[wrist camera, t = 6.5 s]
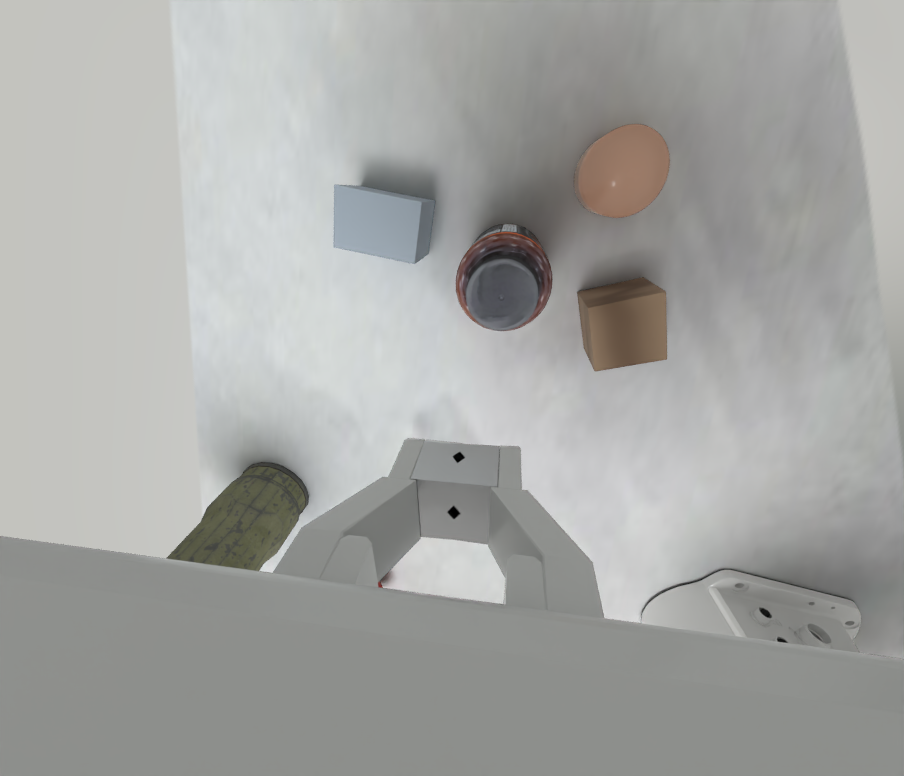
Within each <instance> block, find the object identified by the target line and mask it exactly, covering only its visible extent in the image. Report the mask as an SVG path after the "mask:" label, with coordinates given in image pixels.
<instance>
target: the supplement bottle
mask: <svg viewBox="0 0 904 776" xmlns="http://www.w3.org/2000/svg"><path fill="white" fill-rule="evenodd" d="M551 289H552V271H551V267H550V264H549V261H548V259H547V257H546V255H545V253H544V251H543V249H542V246H541V244H540V242H539V241H538V239H537V238H536V237H535V236H534V235H533V234H532V233H531V232H530V231H529V230H527V229H526V228H525V227H521V226H519V225H514V224H501V225H497V226H494V227H492V228H490V229H488V230H487V231H485V232H484V233H483V234H482V235H480V236H479V238H478V239H477V240H476V241H475V242H474V244H473V245H472V246H471V247H470V249H469V250H468V251H467V253H466V254H465V256H464V257H463V259H462V261H461V263H460V265H459V268H458V271H457V276H456V293H457V297H458V300H459V302H460V305H461V307H462V309H463V310H464V312H465V313H466V314H467V315H468V317H469V318H470V319H472V320H473V321H474V322H475V323H477V324H478V325H480V326H482V327H484V328H487V329H491V330H496V331H509V330H515V329H518V328H520V327H523V326H525V325H526V324H528V323H530V322H531V321H532V320H534V319H535V318H536V317H537V316H538V315H539V314H540V313H541V311H542V310H543V309H544V307H545V306H546V304H547V301H548V299H549V297H550V293H551Z"/></svg>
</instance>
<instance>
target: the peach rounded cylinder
mask: <svg viewBox="0 0 904 776" xmlns="http://www.w3.org/2000/svg"><path fill="white" fill-rule="evenodd" d="M669 163H670V159H669V151H668V148H667V145H666V143H665V141H664V139H663V138H662V136H661V135H660V134H659V133H658V132H657V131H656V130H654V129H652V128H651V127H648V126H646V125H641V124H630V125H625V126H621V127H619V128H616V129H615V130H613V131H611V132H609V133H608V134H606V135H605V136H603V137H601V138H600V139H598V140H597V141H595V142H594V143H593V144H592V145H590V146H589V147H588V148H587V150H586V151H585V152H584V153H583V155H582V156H581V158H580V160H579V162H578V164H577V167H576V170H575V174H574V189H575V193H576V196H577V198H578V200H579V202H580V203H581V205H582V206H583V207H584V208H586V209H587V210H589V211H590V212H593V213H595V214H599V215H603V216H608V217H613V218H621V217H627V216H630V215H633V214H635V213H638V212H639V211H641V210H643V209H644V208H645V207H647V206H648V205H649V204H650V203H651V202H652V201H653V200H654V199H655V198H656V197H657V196H658V194H659V193H660V191H661V190H662V188H663V186H664V184H665V181H666V179H667V175H668V171H669Z"/></svg>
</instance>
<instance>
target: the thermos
mask: <svg viewBox="0 0 904 776" xmlns="http://www.w3.org/2000/svg"><path fill="white" fill-rule="evenodd" d="M308 498H309V496H308V492H307V489H306V487H305V485H304V484H303V482H302V481H301V480H300V479H299V478H298V477H297V476H296V475H295V474H294V473H293V472H291V471H289V470H288V469H286V468H284V467H282V466H279V465H276V464H273V463H263V462H261V463H257V464H253V465H251V466H250V467H249V468H247V469H246V470H245V471H244V472H243V474H242V475H241V476H240V477H239V478H237V479H236V480H235V481H233V482H232V483H231V484H230V485H229V486H228V487H227V488H226V489H225V490H224V491H223V492H222V493H221V494H220V495H219V496H218V497H217V498H216V499H215V500H214V501H213V502H212V503H211V504H210V505H209V506H208V507H207V509H206V511H205V514H204V516H203V518H202V520H201V522H200V523H199V524H198V525H197V527H196V528H195V529H194V530H193V531H192V532H191V533H190V534H189V535H188V536H187V537H186V538H185V539H184V540H183V541H182V542H181V543H180V544H179V545H178V546H177V548H176V549H175V550H174V551H173V552H172V553H171V554H170V555H169V556H168V557H167V558H166V559H173V560H181V561H188V562H195V563H203V564H210V565H217V566H225V567H232V568H240V569H247V570H254V571H259V570H260V568H261V567H262V565H263V564H264V563H265V562H266V561H267V560H269V559H270V558H271V557H273V556H274V555H275V554H276V553H277V552H278V550H279V549H280V547H281V546H282V544H283V543H284V541H285V540H286V538H287V537H288V535H289V534H290V532H291V531H292V529H293V528H294V526H295V525H296V523H297V522H298V520H299V515H300V514H301V513H302V512H303V510H304V509H305V507H306V506H307V504H308Z"/></svg>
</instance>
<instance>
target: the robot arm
mask: <svg viewBox="0 0 904 776" xmlns="http://www.w3.org/2000/svg"><path fill="white" fill-rule="evenodd" d="M499 453H500V454H499ZM498 471H499V472H498ZM420 537H430V538H441V539H453V540H460V541H467V542H474V543H481V544H488V547H489V548H490V550H491V552H492V554H493V556H494V558H495V560H496V562H497V564H498V565H499V567H500V569H501V571H502V573H503V575H504V577H505V591H504V602H503V604H497V603H490V602H482V601H475V600H468V599H460V598H453V597H446V596H438V595H431V594H424V593H416V592H409V591H401V590H394V589H387V588H379V587H378V582H379V581H380V580H381V579H382V578H383V577H384V576H385V575H386V574H387V573H388V572H389V571H390V570H391V569H392V568H393V567H394V566H395V565H396V563H397V562H398V561H399V560H400V559H401V558H402V557H403V556H404V555H405V554H406V553H407V552H408V551H409V550H410V549H411V548H412V547H413V546H414V545H415V544H416V543H417V542H418V541H419V540H420ZM860 625H861V614H860V611H859V609H858V608H857V606H856V605H855V603H854V602H853V601H851V600H848V599H844V598H840V597H836V596H832V595H828V594H824V593H820V592H816V591H812V590H808V589H805V588H801V587H797V586H793V585H789V584H785V583H781V582H777V581H773V580H769V579H765V578H761V577H757V576H753V575H749V574H745V573H741V572H737V571H733V570H722V571H719V572H716V573H714V574H712V575H710V576H708V577H707V578H705V579H703V580H701V581H698V582H695V583H691V584H687V585H683V586H679V587H676V588H673V589H671V590H668V591H666V592H664V593H662V594H660V595H659V596H657V597H656V598H654V599H653V600H652V601H651V602H650V603H649V604H648V605H647V606H646V607H645V609H644V611H643V613H642V617H641V623H636V622H629V621H622V620H614V619H607V618H604V614H603V609H602V605H601V600H600V595H599V591H598V586H597V581H596V576H595V572H594V567H593V562H592V561H591V560H590V559H589V558H588V557H587V556H586V555H585V553H584V552H583V551H582V550H581V549H580V548H579V547H578V546H577V545H576V543H575V542H574V541H573V540H572V539H571V538H570V537H569V536H568V535H567V533H566V532H565V531H564V530H563V529H562V528H561V527H560V526H559V525H558V523H557V522H556V521H555V520H554V519H553V518H552V517H551V516H550V515H549V513H548V512H547V511H546V510H545V509H544V508H543V507H542V506H541V505H540V503H539V502H538V501H537V500H536V499H535V498H534V497H533V496H532V495H531V493H530V492H529V491H528V490H522V479H521V448H520V447H519V446H501V445H500V446H492V445H478V444H464V443H457V442H447V441H437V440H427V439H426V440H425V439H415V438H407V439H406V440H405V441H404V443H403V445H402V447H401V450H400V452H399V454H398V456H397V459H396V461H395V463H394V465H393V468H392V470H391V472H390V474H389V476H388V477H382V478H380V479H378V480H377V481H375V482H374V483H372V484H371V485H369V486H367V487H366V488H364V489H363V490H361V491H359V492H358V493H356V494H355V495H353V496H351V497H350V498H348V499H347V500H345V501H343V502H342V503H340V504H339V505H337V506H335V507H334V508H332V509H331V510H329V511H327V512H326V513H324V514H323V515H321V516H319V517H318V518H316V519H315V520H313V521H312V522H310V523H308V524H307V525H305V526H304V527H302V528H301V530H300V531H299V533H298V534H297V536H296V537H295V539H294V540H293V542H292V544H291V545H290V547H289V548H288V550H287V551H286V553H285V554H284V556H283V558H282V559H281V561H280V562H279V564H278V565H277V567H276V568H275V570H274V572H273V573H269V572H262V571H254V570H247V569H240V568H232V567H225V566H217V565H210V564H203V563H195V562H188V561H181V560H173V559H166V558H158V557H151V556H144V555H136V554H129V553H122V552H114V551H107V550H100V549H92V548H85V547H77V546H69V545H63V544H55V543H48V542H40V541H33V540H26V539H19V538H11V537H4V536H0V776H904V659H901V658H894V657H886V656H879V655H872V654H864V653H860V652H859V650H858V649H857V647H856V645H855V644H854V642H853V639H854V638H855V636H856V635H857V633H858V631H859V628H860Z"/></svg>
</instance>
